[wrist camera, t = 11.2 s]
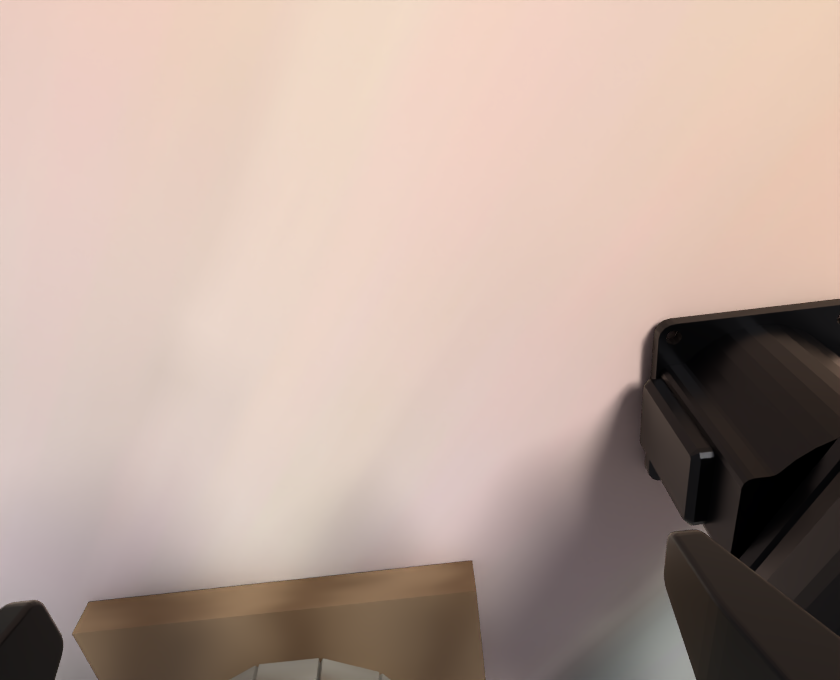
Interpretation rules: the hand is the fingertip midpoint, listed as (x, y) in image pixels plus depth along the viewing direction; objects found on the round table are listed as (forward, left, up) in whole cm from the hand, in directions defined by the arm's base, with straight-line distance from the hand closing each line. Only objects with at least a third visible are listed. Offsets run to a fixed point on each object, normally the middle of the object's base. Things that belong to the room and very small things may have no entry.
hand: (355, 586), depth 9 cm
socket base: (+6, +21, -12) cm, 25 cm away
